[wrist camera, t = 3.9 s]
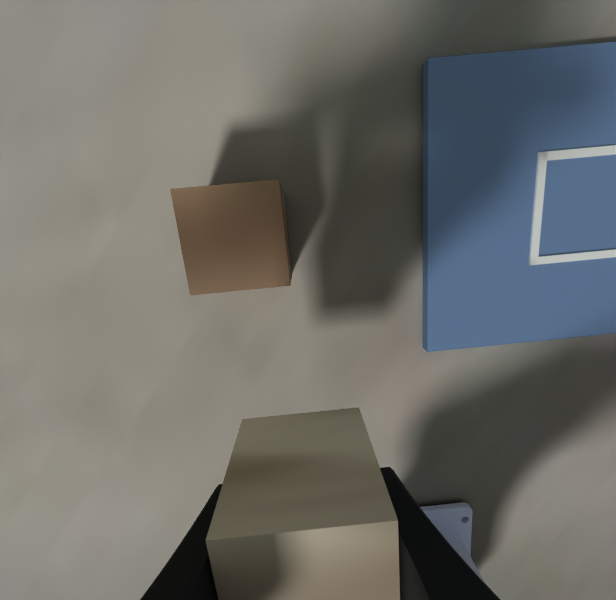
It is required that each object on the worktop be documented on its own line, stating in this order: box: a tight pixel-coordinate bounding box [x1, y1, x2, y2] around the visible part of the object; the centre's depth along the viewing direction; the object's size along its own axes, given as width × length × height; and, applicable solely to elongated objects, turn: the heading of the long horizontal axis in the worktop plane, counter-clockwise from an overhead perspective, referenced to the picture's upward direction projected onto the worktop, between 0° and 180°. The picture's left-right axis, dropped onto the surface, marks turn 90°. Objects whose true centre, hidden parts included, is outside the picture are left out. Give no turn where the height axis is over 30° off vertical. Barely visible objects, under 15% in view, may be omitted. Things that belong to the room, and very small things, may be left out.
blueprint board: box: [423, 42, 616, 352], centre depth 15 cm, size 14×16×1 cm
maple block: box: [206, 408, 400, 600], centre depth 8 cm, size 4×4×4 cm
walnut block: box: [170, 179, 292, 295], centre depth 13 cm, size 4×4×4 cm
